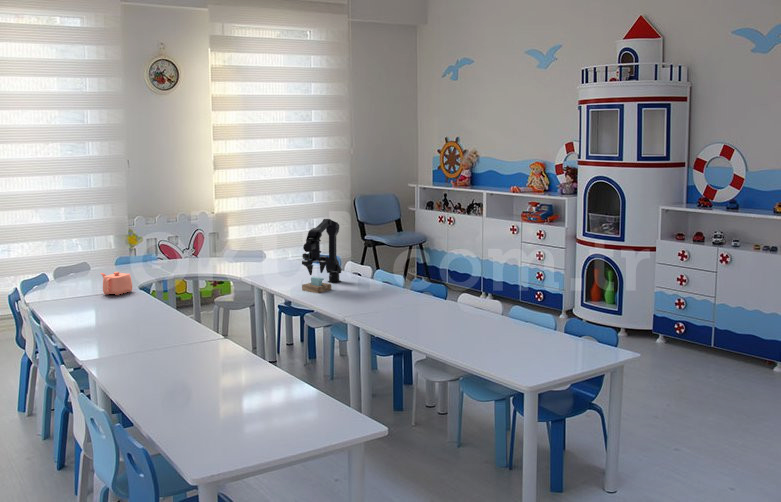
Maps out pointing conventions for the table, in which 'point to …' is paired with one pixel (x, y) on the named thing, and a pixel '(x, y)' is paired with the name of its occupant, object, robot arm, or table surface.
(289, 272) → the table surface
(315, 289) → the well block
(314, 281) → the bracket
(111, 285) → the teapot
